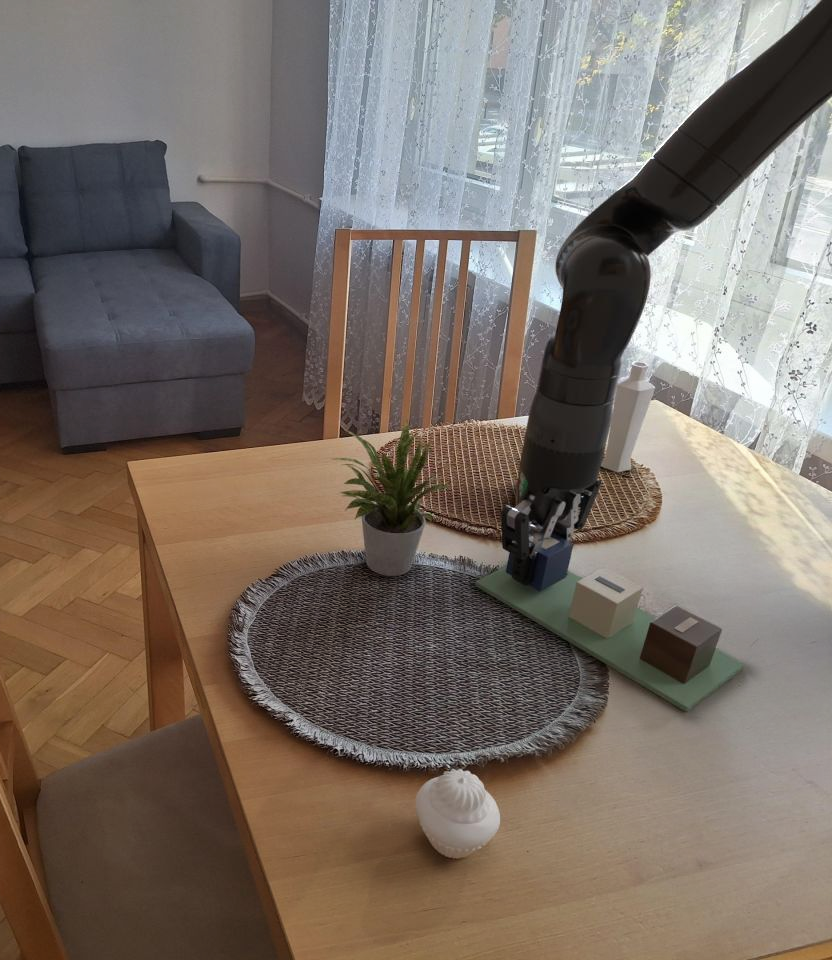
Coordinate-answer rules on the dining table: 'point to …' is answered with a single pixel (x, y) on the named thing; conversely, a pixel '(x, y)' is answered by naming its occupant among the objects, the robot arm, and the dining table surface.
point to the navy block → (548, 561)
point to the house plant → (391, 507)
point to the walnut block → (680, 644)
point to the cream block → (605, 602)
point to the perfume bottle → (627, 417)
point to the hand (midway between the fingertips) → (536, 572)
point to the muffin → (457, 813)
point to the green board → (614, 651)
